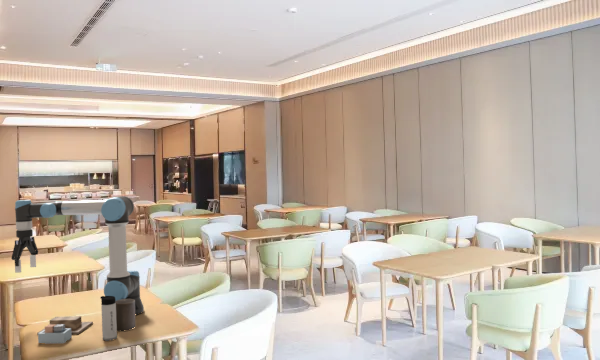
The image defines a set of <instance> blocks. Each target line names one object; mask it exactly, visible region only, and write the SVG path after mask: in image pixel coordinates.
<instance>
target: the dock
mask: <svg viewBox="0 0 600 360" xmlns="http://www.w3.org/2000/svg"><path fill="white" fill-rule="evenodd" d="M51 324H56V325H57V324H65V328H71V333H72V335H73V334H77V335H80V334H81V333H83V332H84V331H85V330H87V329H89V327H91V326H93V324H94V322H93V321H82V316H81V315H79V316H76V315H73V316H55V317H53V318H51V319H49V325H51ZM43 330H45V327H44V328H43V329H41V330H40V331H38V332H37V334H36V335H37V336H38V333H40V332H42V331H43Z"/></svg>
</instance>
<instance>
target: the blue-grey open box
mask: <svg viewBox="0 0 600 360" xmlns="http://www.w3.org/2000/svg"><path fill="white" fill-rule="evenodd" d="M42 330H43V329H42ZM37 333H38V332H37ZM37 336H38V338H37V339H38V340H37V341H38V343H45V344H65V343H67V342H68V341H70V340H71V339H72V337H73V336H72V333H71V328H65V331H64V332H63V333H45V330H43V331H42V332H40V333H38V335H37ZM70 338H71V339H70ZM67 340H68V341H67ZM66 341H67V342H66Z"/></svg>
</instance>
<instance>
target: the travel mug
mask: <svg viewBox="0 0 600 360" xmlns="http://www.w3.org/2000/svg"><path fill="white" fill-rule="evenodd" d="M100 299H101V303H100V304H101V327H102V328H101V330H102V331H101V332H102V341H104V340H105V342H110V341H109V340H111V341H114V340H113V339H115V340H116V339H117V338H118V333H117V332H118V331H117V324H116V301H115V297H114V296H105V295H102V296H100Z"/></svg>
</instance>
